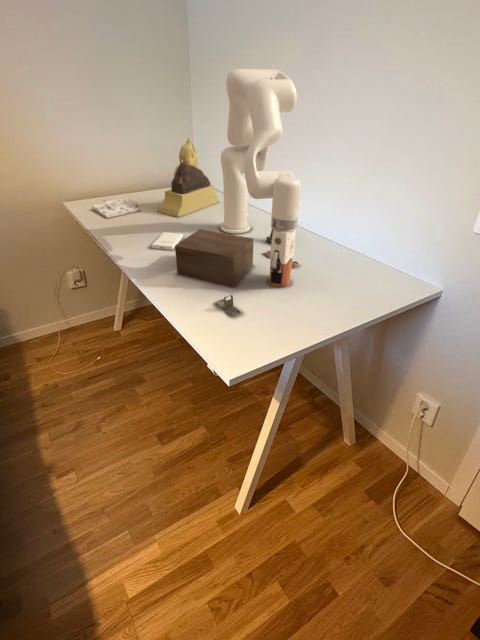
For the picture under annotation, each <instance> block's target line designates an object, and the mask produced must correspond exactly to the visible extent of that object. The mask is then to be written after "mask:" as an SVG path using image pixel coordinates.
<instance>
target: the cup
mask: <svg viewBox="0 0 480 640" xmlns="http://www.w3.org/2000/svg"><path fill="white" fill-rule="evenodd" d="M269 260H270V259H269ZM277 262H280V260H278V261H277ZM292 262H293V257H291V259H290V260H289V261H288V262H287V263H286V264H285V265H284V264H282V269H281V272H282V280H281V284H276V283H272V282H271V269H272V268H271V263H272V262H271V260H270V261H269V275H268V276H269V277H268V280H269V281H268V283H269V284H270V285H271V286H273V287H277V288H285V287H288V286H289V285H290V283H291V278H292V277H291V276H292V268H293V267H292V265H293V264H292ZM279 265H280V264H277V266H278V267H279Z"/></svg>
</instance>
